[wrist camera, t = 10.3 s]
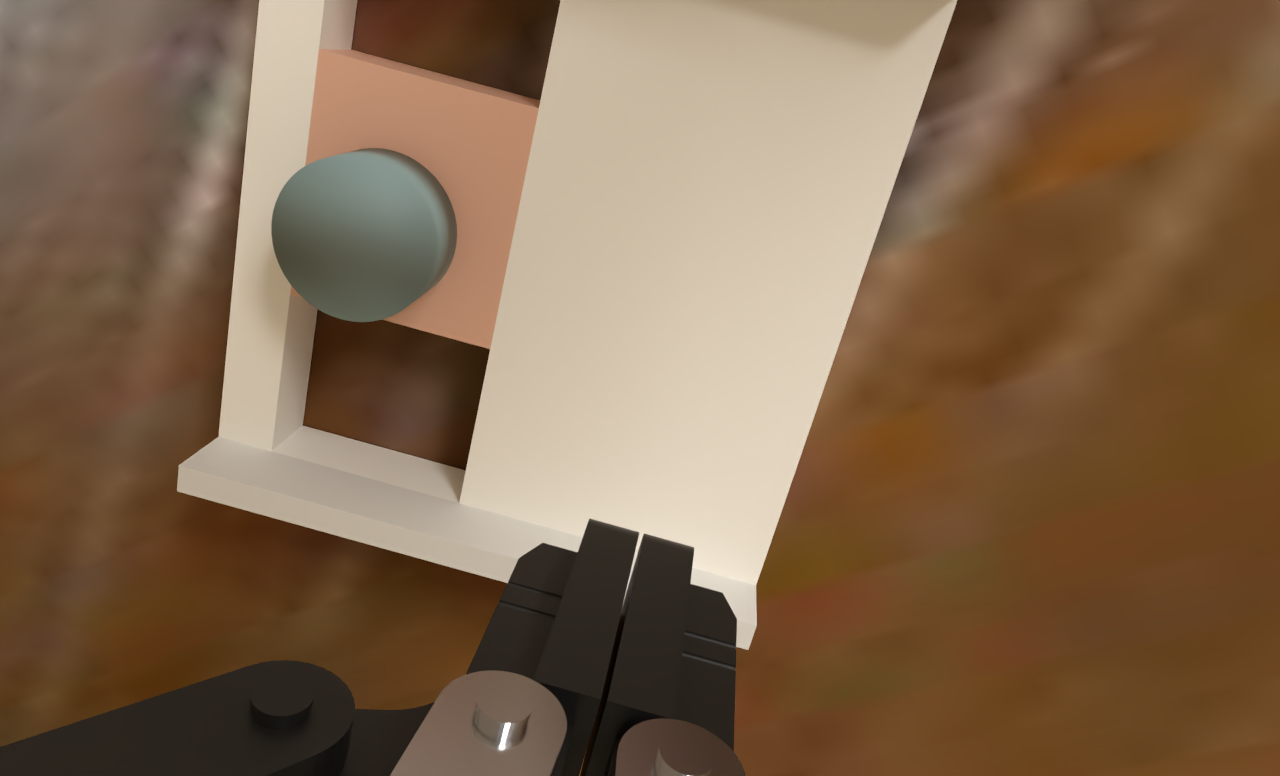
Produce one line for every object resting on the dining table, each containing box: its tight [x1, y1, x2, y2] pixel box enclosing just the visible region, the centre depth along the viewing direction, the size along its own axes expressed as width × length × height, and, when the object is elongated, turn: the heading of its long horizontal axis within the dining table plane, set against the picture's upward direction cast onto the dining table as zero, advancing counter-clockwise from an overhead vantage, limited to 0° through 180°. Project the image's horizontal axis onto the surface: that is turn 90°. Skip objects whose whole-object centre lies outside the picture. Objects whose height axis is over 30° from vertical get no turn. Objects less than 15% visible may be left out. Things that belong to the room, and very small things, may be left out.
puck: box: [271, 148, 457, 322], centre depth 29 cm, size 5×5×2 cm
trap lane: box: [177, 0, 957, 650], centre depth 30 cm, size 22×20×5 cm
